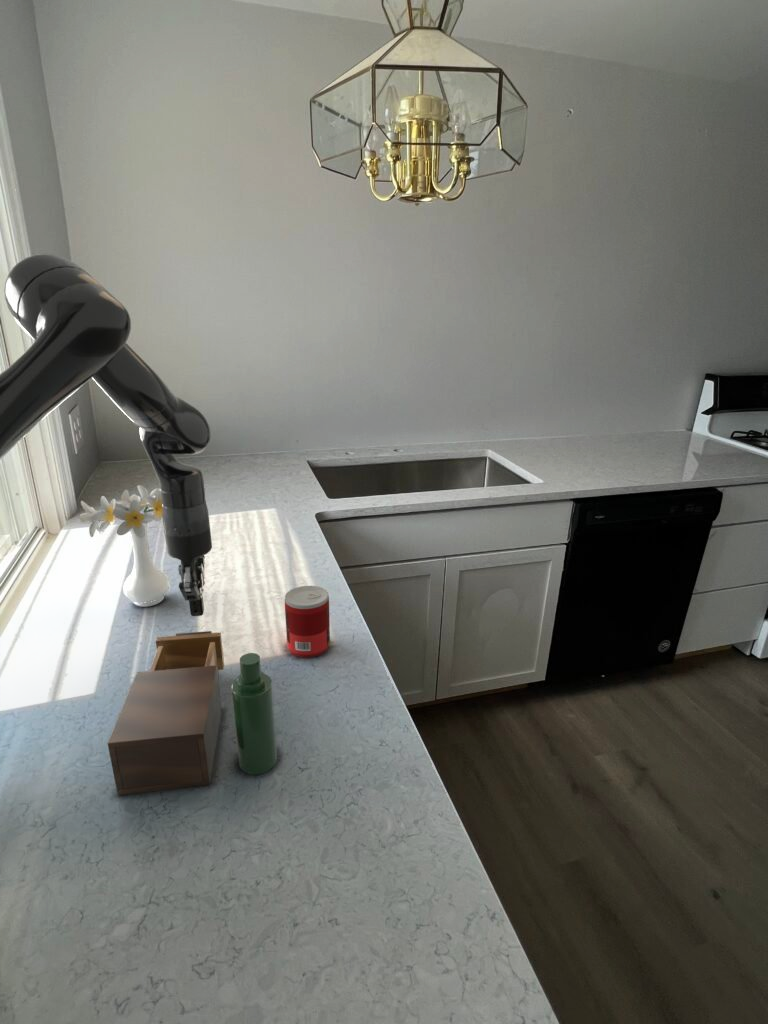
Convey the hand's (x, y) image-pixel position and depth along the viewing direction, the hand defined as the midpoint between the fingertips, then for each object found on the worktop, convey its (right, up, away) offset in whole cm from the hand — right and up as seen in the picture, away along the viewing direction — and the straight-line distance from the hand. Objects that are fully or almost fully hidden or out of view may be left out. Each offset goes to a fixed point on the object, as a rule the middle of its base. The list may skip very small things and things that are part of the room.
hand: (197, 613), depth 102 cm
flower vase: (-17, -1, +17) cm, 24 cm away
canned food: (+20, -7, +2) cm, 21 cm away
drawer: (+2, -10, -10) cm, 14 cm away
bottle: (+17, -16, -24) cm, 33 cm away
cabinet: (+4, -15, -22) cm, 27 cm away
